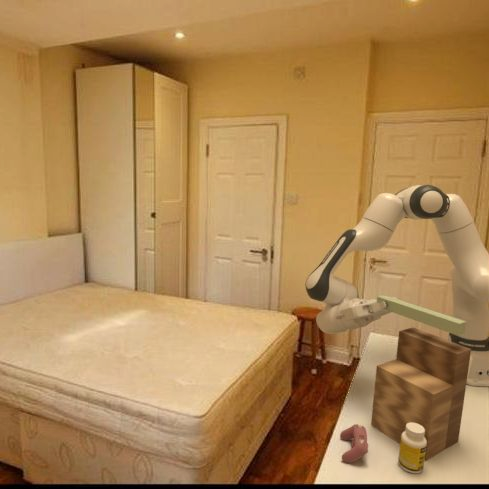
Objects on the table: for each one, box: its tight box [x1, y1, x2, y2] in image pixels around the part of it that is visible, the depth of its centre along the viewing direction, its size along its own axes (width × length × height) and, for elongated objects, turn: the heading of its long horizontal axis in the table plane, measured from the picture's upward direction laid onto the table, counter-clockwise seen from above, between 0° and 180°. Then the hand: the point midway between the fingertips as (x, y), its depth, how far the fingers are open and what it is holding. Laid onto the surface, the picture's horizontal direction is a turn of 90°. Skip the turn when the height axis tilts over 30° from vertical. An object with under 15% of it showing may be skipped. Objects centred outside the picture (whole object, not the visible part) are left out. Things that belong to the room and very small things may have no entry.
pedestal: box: [370, 327, 471, 462], centre depth 102 cm, size 16×14×25 cm
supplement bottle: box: [397, 422, 427, 474], centre depth 91 cm, size 5×5×10 cm
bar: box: [376, 294, 466, 336], centre depth 106 cm, size 24×3×3 cm, turn 33°
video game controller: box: [339, 423, 369, 463], centre depth 96 cm, size 10×5×7 cm, turn 169°
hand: (391, 302), depth 112 cm, fingers closed on bar, 3 cm apart
